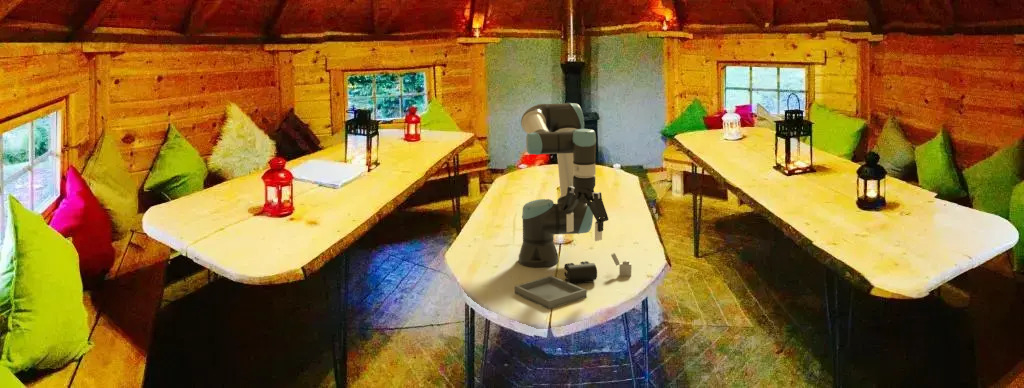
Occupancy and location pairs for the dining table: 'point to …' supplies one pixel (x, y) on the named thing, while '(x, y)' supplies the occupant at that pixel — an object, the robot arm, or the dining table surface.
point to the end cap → (580, 272)
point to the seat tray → (550, 292)
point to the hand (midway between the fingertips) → (583, 235)
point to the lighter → (622, 266)
